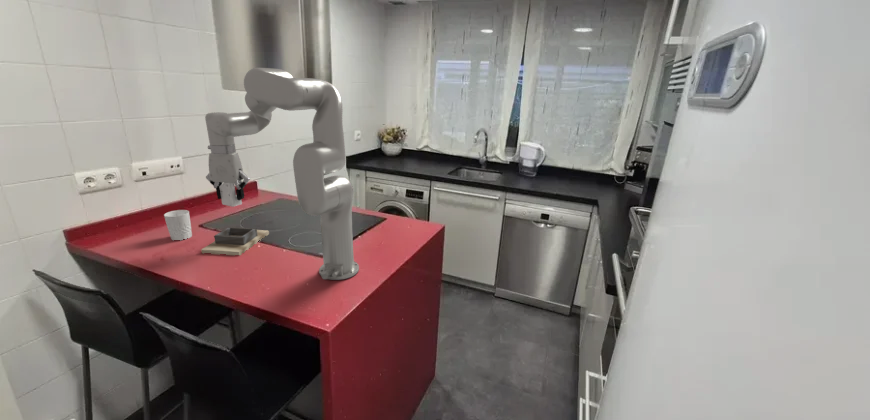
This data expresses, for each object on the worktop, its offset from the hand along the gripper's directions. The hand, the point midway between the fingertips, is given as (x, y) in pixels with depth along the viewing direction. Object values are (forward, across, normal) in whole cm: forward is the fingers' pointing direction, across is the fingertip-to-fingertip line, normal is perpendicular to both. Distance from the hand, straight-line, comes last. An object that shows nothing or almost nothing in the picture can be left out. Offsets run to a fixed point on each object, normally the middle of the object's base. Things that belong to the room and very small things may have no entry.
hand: (231, 198), depth 133 cm
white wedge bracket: (+2, 0, 0) cm, 2 cm away
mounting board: (+18, 0, 0) cm, 18 cm away
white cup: (+18, -24, +2) cm, 30 cm away
